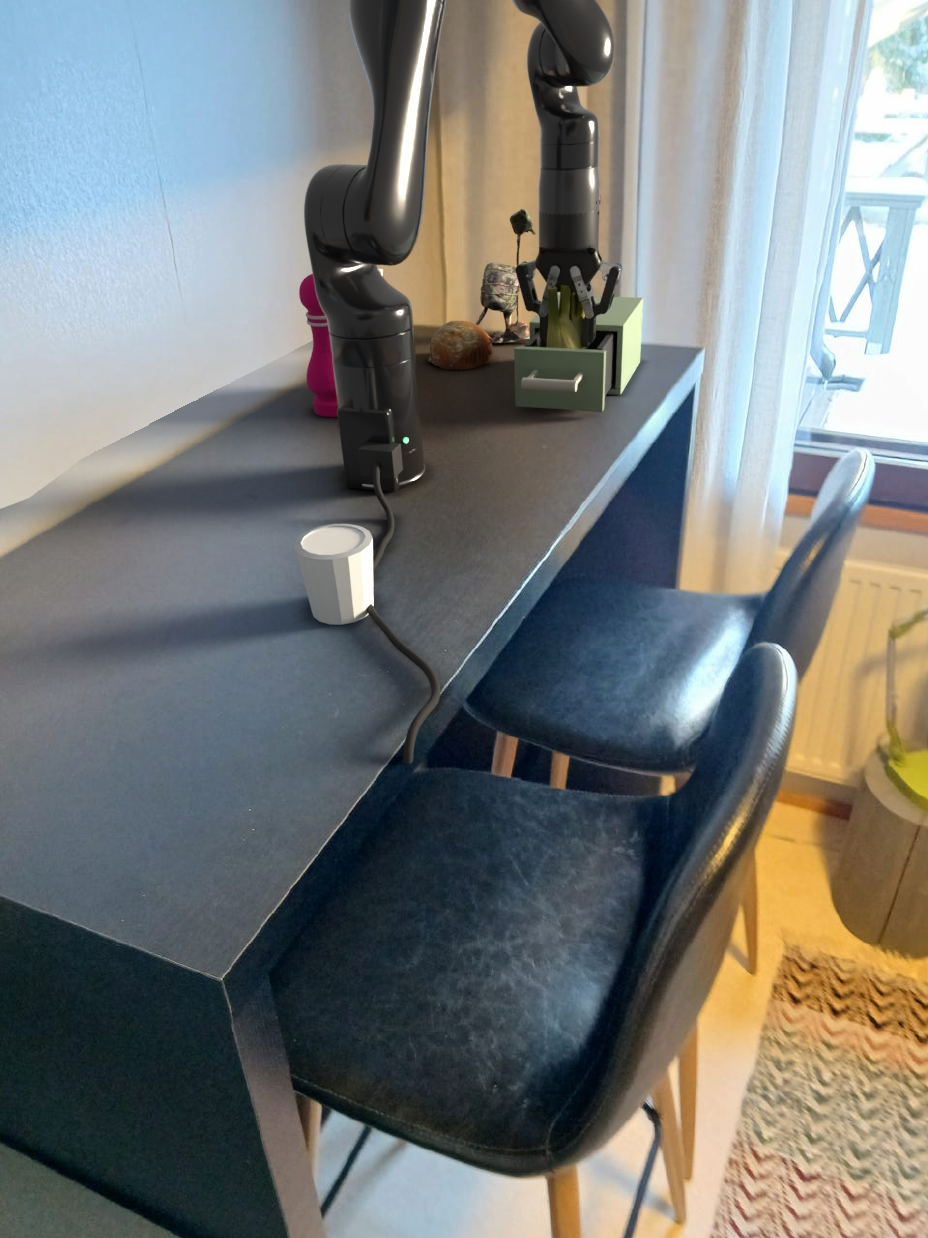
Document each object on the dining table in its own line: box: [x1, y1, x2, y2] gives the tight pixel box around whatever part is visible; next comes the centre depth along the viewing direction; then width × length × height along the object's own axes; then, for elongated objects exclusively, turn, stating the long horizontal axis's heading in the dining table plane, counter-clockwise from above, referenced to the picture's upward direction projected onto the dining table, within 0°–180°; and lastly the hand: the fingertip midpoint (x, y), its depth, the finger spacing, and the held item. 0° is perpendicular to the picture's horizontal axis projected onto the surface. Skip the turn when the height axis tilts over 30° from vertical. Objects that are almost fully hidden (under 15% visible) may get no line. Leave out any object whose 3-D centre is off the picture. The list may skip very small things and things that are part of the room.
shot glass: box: [293, 523, 375, 626], centre depth 83 cm, size 7×7×7 cm
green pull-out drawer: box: [513, 330, 618, 413], centre depth 126 cm, size 20×12×8 cm, turn 161°
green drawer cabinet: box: [528, 294, 644, 396], centre depth 136 cm, size 16×13×10 cm
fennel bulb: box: [547, 285, 588, 349], centre depth 124 cm, size 6×5×12 cm
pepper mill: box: [298, 273, 338, 418], centre depth 126 cm, size 7×7×20 cm
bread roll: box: [428, 320, 494, 371], centre depth 147 cm, size 10×10×8 cm
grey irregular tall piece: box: [475, 208, 536, 344], centre depth 152 cm, size 8×11×20 cm
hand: (567, 343), depth 125 cm, fingers closed on fennel bulb, 4 cm apart
